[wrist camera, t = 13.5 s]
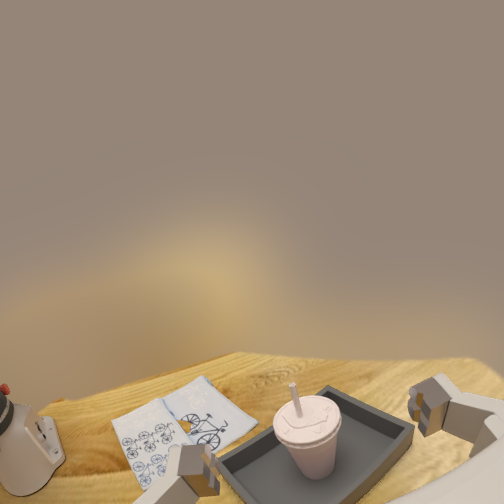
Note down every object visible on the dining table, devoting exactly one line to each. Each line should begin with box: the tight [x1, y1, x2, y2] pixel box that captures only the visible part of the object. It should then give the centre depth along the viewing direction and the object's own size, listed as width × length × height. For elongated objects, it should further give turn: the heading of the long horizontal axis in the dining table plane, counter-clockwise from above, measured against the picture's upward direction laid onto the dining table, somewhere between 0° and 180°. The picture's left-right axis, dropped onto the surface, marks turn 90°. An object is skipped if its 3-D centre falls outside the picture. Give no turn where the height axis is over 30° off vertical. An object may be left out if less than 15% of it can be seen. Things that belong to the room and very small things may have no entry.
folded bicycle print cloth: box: [111, 375, 259, 492], centre depth 38 cm, size 19×20×2 cm
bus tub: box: [217, 385, 415, 504], centre depth 26 cm, size 14×18×4 cm
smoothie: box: [273, 383, 342, 480], centre depth 24 cm, size 6×6×14 cm
